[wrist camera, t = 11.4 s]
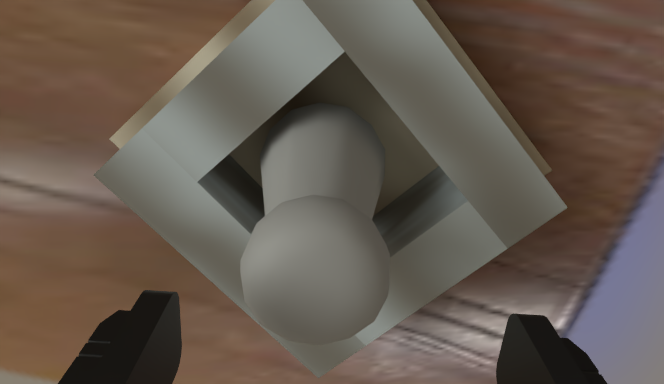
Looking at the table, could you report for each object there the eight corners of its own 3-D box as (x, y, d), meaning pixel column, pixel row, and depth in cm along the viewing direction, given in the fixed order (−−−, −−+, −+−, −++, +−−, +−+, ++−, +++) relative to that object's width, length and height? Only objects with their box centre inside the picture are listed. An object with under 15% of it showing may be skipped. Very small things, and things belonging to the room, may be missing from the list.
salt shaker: (329, 68, 24) (326, 147, 12) (403, 154, 25) (468, 303, 13) (242, 145, 25) (160, 287, 13) (318, 222, 27) (306, 412, 15)
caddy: (352, -95, 22) (359, -125, 16) (542, 162, 27) (600, 209, 21) (118, 132, 26) (58, 172, 20) (319, 323, 31) (316, 400, 25)
